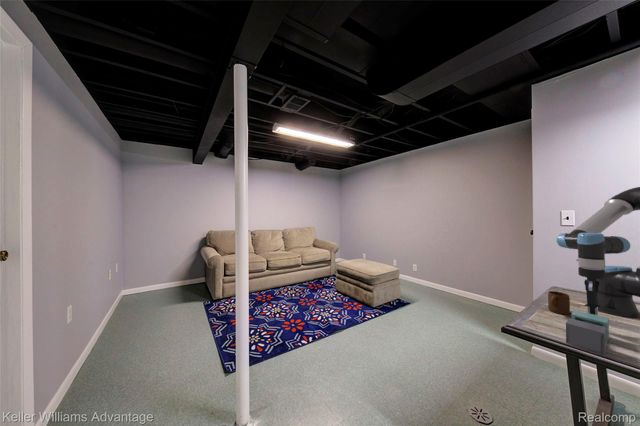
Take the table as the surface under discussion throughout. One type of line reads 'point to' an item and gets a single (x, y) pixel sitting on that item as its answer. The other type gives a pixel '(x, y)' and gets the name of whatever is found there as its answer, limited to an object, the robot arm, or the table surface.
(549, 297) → the mug
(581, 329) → the charcoal cap
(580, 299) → the table surface
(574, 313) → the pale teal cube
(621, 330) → the table surface
